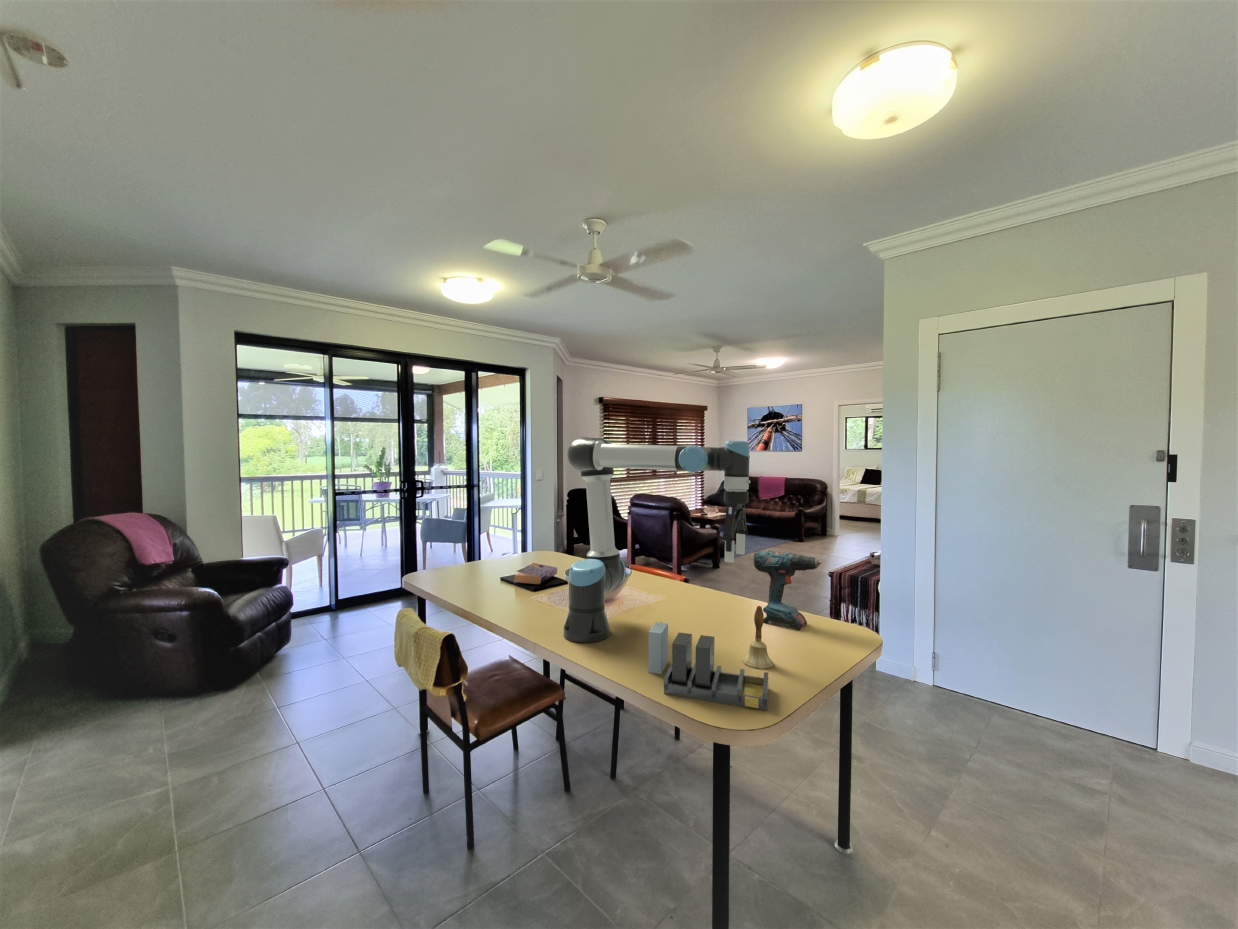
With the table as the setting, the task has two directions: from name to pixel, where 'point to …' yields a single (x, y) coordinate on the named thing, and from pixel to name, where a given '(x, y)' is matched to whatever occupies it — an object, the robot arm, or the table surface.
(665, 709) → the table surface
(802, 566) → the power drill
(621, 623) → the table surface
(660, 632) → the pale blue block
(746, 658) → the hand bell
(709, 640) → the rack
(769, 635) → the table surface
